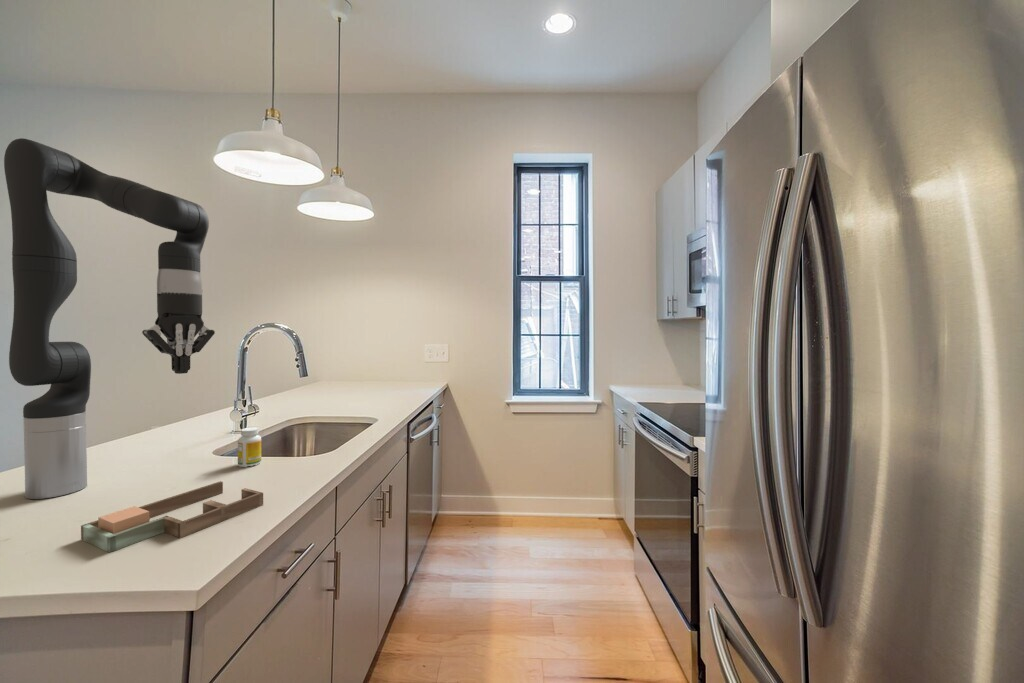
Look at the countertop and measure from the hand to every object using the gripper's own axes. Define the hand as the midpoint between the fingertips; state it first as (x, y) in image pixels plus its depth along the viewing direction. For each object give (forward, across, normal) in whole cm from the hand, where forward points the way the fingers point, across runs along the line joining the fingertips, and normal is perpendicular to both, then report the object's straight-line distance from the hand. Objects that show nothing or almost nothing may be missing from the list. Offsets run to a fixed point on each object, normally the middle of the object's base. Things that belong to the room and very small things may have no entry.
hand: (181, 373), depth 88 cm
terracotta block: (+27, +14, +10) cm, 32 cm away
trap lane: (+27, +6, +12) cm, 30 cm away
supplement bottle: (+27, -20, -8) cm, 35 cm away
